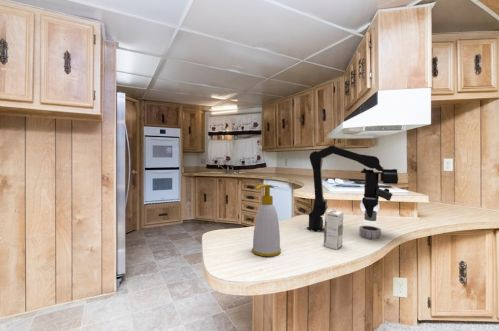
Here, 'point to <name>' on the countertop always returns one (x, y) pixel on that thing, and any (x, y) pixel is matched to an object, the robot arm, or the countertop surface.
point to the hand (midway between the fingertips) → (370, 216)
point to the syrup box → (333, 229)
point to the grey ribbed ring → (370, 232)
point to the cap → (371, 217)
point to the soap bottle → (266, 226)
